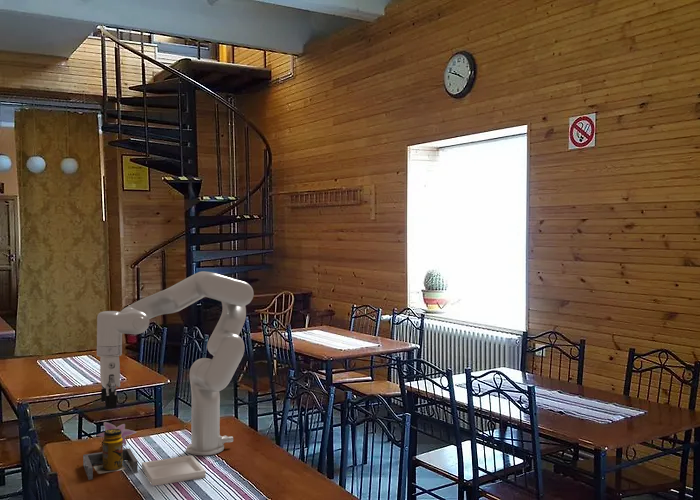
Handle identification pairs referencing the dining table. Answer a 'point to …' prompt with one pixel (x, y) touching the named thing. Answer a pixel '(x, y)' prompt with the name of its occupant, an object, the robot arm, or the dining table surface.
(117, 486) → the dining table surface
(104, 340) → the robot arm
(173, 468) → the tray
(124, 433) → the lily
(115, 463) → the condiment
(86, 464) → the bracket
